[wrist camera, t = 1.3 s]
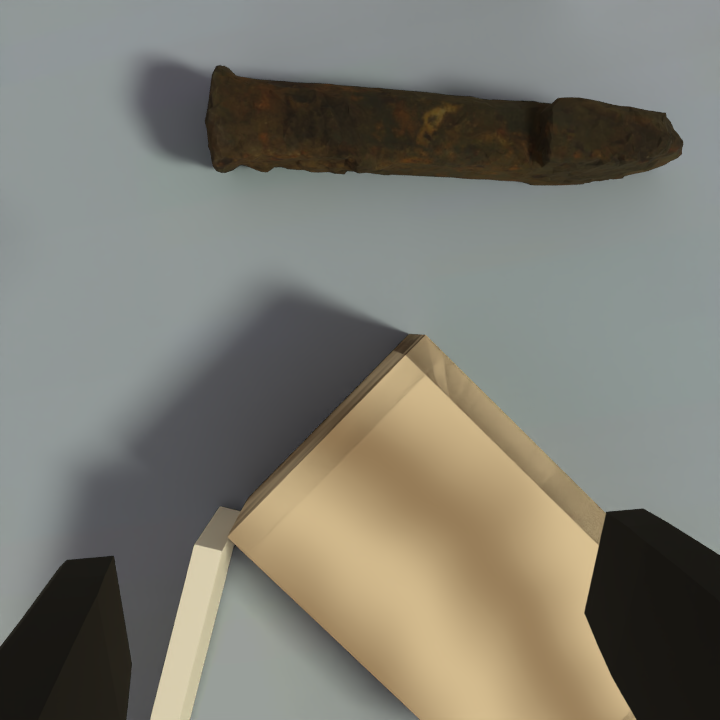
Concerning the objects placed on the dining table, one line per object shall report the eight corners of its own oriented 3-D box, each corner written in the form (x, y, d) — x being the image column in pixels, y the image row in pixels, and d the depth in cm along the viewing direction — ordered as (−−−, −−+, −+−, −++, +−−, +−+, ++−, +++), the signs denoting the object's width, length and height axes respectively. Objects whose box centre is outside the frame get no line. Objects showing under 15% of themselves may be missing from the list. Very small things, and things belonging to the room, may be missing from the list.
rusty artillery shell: (214, 181, 29) (192, 155, 24) (223, 86, 29) (202, 42, 24) (645, 230, 30) (702, 214, 25) (656, 138, 30) (716, 105, 25)
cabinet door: (105, 847, 30) (55, 957, 24) (192, 499, 29) (160, 536, 24) (154, 858, 30) (115, 970, 25) (242, 511, 29) (221, 551, 24)
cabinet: (506, 744, 30) (543, 836, 25) (247, 498, 29) (226, 536, 24) (663, 585, 30) (735, 641, 25) (409, 333, 29) (425, 335, 24)
